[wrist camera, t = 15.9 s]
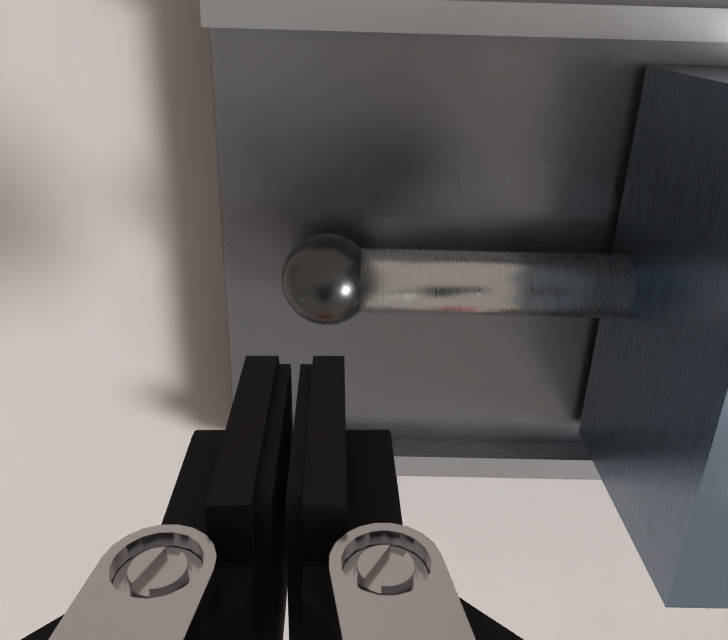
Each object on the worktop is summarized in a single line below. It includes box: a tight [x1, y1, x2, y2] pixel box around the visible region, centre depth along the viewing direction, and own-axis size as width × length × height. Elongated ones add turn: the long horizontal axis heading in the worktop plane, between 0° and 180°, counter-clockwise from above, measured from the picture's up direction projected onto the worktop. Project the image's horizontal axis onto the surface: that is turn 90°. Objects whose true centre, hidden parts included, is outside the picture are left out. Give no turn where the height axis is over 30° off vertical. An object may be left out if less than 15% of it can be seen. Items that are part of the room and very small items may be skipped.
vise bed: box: [199, 0, 728, 480], centre depth 14 cm, size 21×12×8 cm, turn 88°
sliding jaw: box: [281, 65, 728, 608], centre depth 13 cm, size 10×9×6 cm
